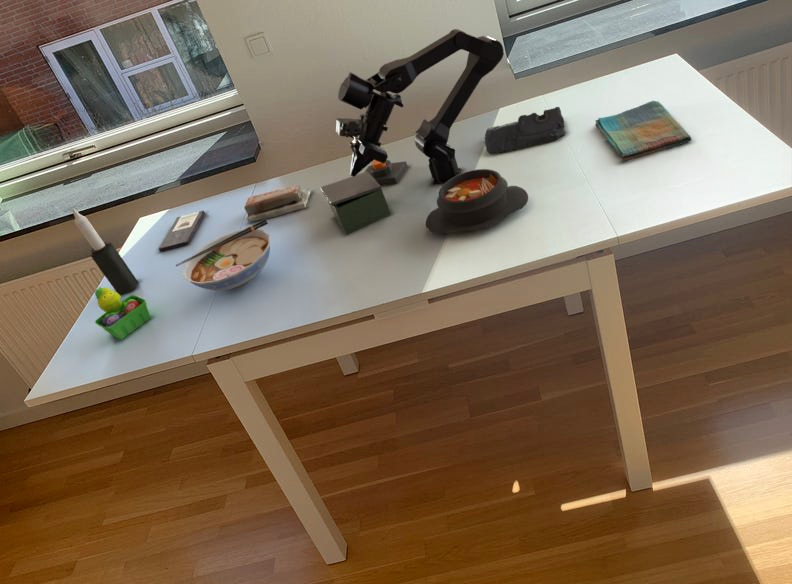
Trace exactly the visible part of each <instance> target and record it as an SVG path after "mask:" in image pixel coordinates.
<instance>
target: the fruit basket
mask: <svg viewBox="0 0 792 584" xmlns="http://www.w3.org/2000/svg"><path fill="white" fill-rule="evenodd" d="M94 295H95V298H96V299H97V305H98V307H99V308H100V310H102V311H104V313H103V314H101V316H99V317H98V318H97V319H95V321H94V323H95V324H96V325H97V326H99V327H100V328H102V329H103V330H104V331H106V332H107V333H108V334H110V335H111V336H113V337H115V338H116V339H118V340H119V341H121V340H123V339H125V338H126V337H127V336H128V335H130V334H132V333H133V332H134V331H136V329H138V328H139V327H141V326H143V324H145V323H146V322H147V321H149V320H151V317H152V316H151V315H150V311H149V309H148V305H147V301H146V299H144V298H143V297H141V296H138V295H135V294H131V295H129V296H127V297H126V298H125V299H122V300H121V298H122V295H119V294H118V293H117V292H116V291H115V290H112V289H111V288H109V287H101V286H100V287H98V288H97V289H95V290H94Z"/></svg>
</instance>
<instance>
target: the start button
mask: <svg viewBox="0 0 792 584" xmlns="http://www.w3.org/2000/svg"><path fill="white" fill-rule="evenodd" d="M371 165H373V168H374V170H379V169H382V168H384V167H385V166H386V163H385V164H383V163H381V162H379V161H376V160H373V161H372V162H371Z"/></svg>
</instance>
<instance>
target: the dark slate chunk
mask: <svg viewBox="0 0 792 584" xmlns="http://www.w3.org/2000/svg"><path fill="white" fill-rule="evenodd" d="M565 135H566V130H565V119H564V117H563V115H562V110H561V108H560V106H556V107H554V108H550V109H544V110H543V114H538V113H536V112H532V113H530V114H528V115H527V114H523V115H520V116H518V118H517V120H516V121H513V122H510V123H506V124H502V125H496V126H492V127H488V128H487V129H486V131H485V134H484V145H485V150H486V152H487V153H488V154H490V155H493V154H504V153H508V152H513V151H514V152H515V151H518V150H523V149H527V148H531V147H535V146H538V145H539V146H540V145H543V144H549V143H551V142H555V141H557V140H559V139H560V137H564V136H565Z"/></svg>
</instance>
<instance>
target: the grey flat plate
mask: <svg viewBox="0 0 792 584" xmlns="http://www.w3.org/2000/svg"><path fill="white" fill-rule="evenodd" d="M380 189H382V185H379V184H378V183H377V182H376V180H375V179H374V178H373V177H372V176H371V175H370V174H369V173H368V172H365V171H364V172H362V173H358V174H357V175H356V176H354V177H353V176H350V177H347V178H343V179H341V180H338V181H335V182H332V183H328V184H326V185H323V186H320V187H319V190H320V191H321V193H322V194H323V195H324V197H325V198H326V200H327V202H328V201H329V202H328V204H329V203H330V204H331V206H333V205H336V204H338V203H341V202H344V201H347V200H350V199H353V198H356V197H359V196H362V195H365V194H368V193H371V192H374V191H377V190H380Z"/></svg>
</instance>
